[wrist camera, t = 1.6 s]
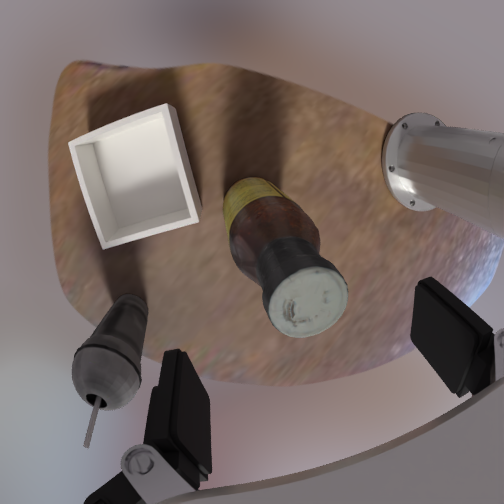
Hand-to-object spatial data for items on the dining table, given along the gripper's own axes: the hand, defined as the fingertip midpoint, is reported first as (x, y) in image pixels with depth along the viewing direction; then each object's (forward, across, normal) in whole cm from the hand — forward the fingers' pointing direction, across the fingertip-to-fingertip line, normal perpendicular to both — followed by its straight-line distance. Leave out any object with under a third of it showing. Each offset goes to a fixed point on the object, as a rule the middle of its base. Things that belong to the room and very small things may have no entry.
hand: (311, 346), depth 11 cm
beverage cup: (+23, +18, +9) cm, 30 cm away
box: (+23, +10, -6) cm, 26 cm away
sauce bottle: (+23, 0, 0) cm, 23 cm away
